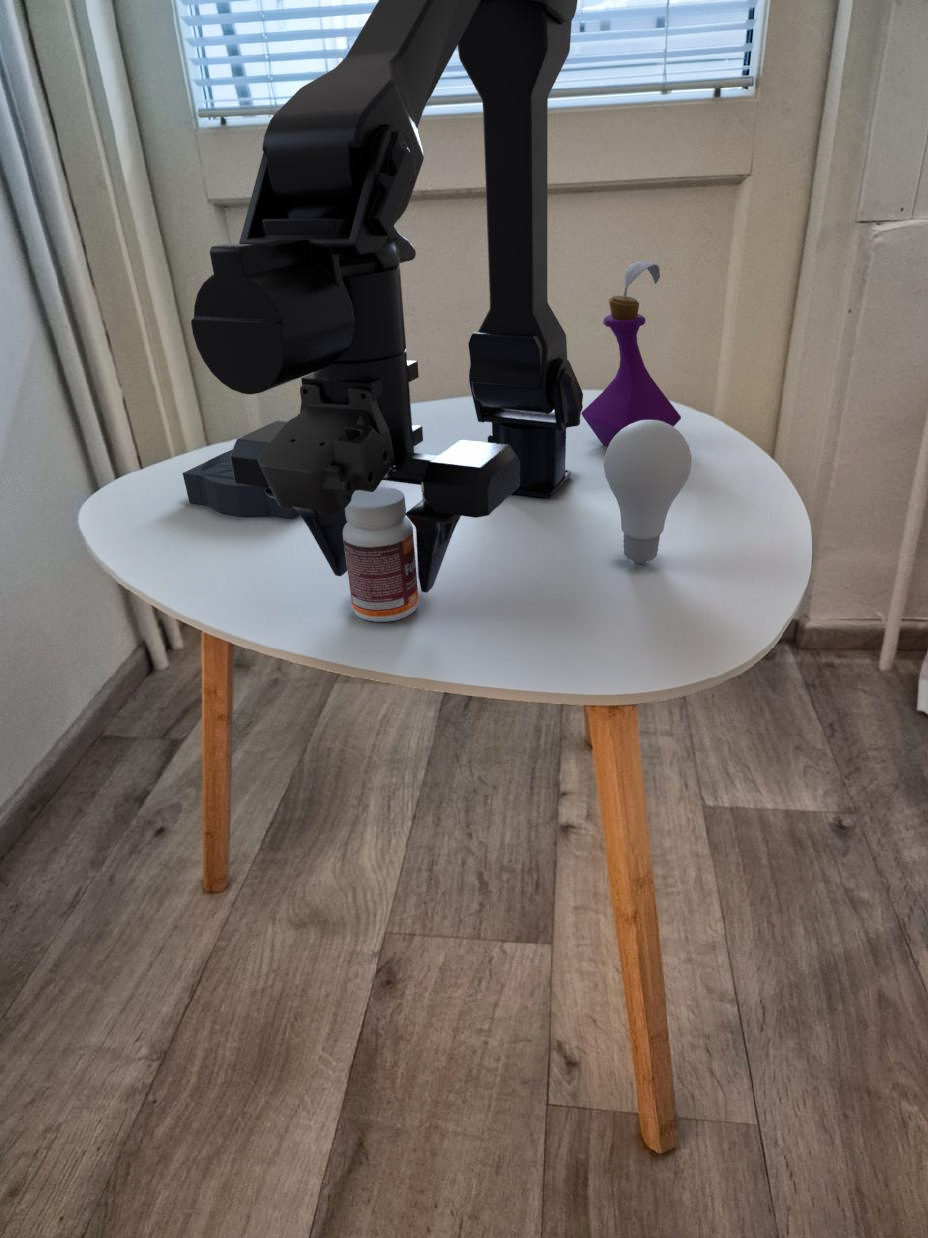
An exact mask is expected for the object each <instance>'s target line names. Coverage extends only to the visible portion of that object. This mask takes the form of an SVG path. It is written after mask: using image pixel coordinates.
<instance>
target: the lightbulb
mask: <svg viewBox="0 0 928 1238" xmlns="http://www.w3.org/2000/svg"><path fill="white" fill-rule="evenodd" d="M691 470H692V453H691V449H690V445H689V444H688V442H687V440H686V438H685V437H684V435H683V434H682V433H681V432H680V430H678V429H677V428H675V426H674V427H673V426H671V425H669V424H667V423H665V422H662V421H658V420H641V421H637V422H634V423H632V424H630V425H628V426H626V427H624V428H623V429H621V430H620V431H619V432H618V433H617V434H616V435H615V436H614V438H613V439H612V440H611V442H610V444H609V446H607V448H606V451H605V454H604V458H603V471H604V475H605V479H606V482H607V484H608V486H609V488H610V490H611V492H612V494H613V496H614V497H615V499H616V502H617V505H618V508H619V514H620V528H621V531H622V533H623V555H624V556H625V558H627V559H628V560H630V561H632V562H633V563H634V564H635V565H636V564H637V565H644V564H646V563H648V562H651V561H652V560H654V559H655V558H656V557H657V556H658V552H659V546H660V538H661V534H663V532H664V530H665V524H666V520H667V516H668V513H669V510H670V508H671V506H672V504H673V502H674V501H675V500H676V499H677V497H678V495H679V494H680V492H681V491H682V490H683V488H684V486H685V485H686V483H687V482H688V480H689V476H690V474H691Z"/></svg>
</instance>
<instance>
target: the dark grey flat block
mask: <svg viewBox="0 0 928 1238" xmlns="http://www.w3.org/2000/svg"><path fill="white" fill-rule="evenodd" d="M232 450H233V448H231V449H230V450H228V451H225V452H223V453H220V454H219V455H216V456H215V457H212V458H210V459H208V460H207V461H204V462H203V463H201V464H198V465H196V466H194V467H192V468H190V469H188V470H186V471H184V472H183V473H182V477H183V481H184V485H185V490H186V495H187V498H188V503H190V504H197V505H202V506H207V507H209V508H211V509H212V510H214V511H216V512H218V513H220V514H223V515H229V516H235V517H243V518H245V517H270V516H271V517H277V518H284V519H290V520H293V519H295V518H296V517H299V516H300V514H299V513H298V512H297V510H295V509H294V508H293V507H292V508H291V509H288V508H283V507H280V506H279V505H278V503H277V501H276V499H275V498H270V497H269V496H268V495H267V494H266V493H265V489H266V487H259V486H252V485H245V484H238V483H236V482H235V478H234V473H233V468H232V463H231V458H230V456H231V453H232ZM269 487H270V486H269ZM267 488H268V487H267Z"/></svg>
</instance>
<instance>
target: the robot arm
mask: <svg viewBox="0 0 928 1238" xmlns="http://www.w3.org/2000/svg"><path fill="white" fill-rule="evenodd" d="M578 1H579V0H378V1H377V3H376V4H375V6H374V8H373V9H372V11H371V13H370V15H369V16H368V18H367V20H366V21H365V23H364V24H363V26H362V28H361V30H360V32H359V33H358V35H357V36H356V39H355V40H354V42H353V43H352V46H351V47H350V49H349V50H348V52H347V54H346V56H345V57H344V58H343V59H342V60H341V61H340V62H339V63H338V64H337V66H336V67H334V68H333V69H331V70H329V71H327V72H326V73H324V74H322V75H321V76H319V77H317V78H316V79H313V80H312V81H310V82H309V83H307V84H305V85H303V86H302V87H300V88H299V89H298V90H297V91H296V92H294V94H293V95H292V96H291V97H290V98H289V99H288V100H287V101H286V102H285V103H284V104H283V105H282V106H281V108H280V109H279V110H277V111H276V112H275V114H274V115H273V116H272V117H271V119H270V120H269V123H268V125H267V127H266V130H265V133H264V135H263V141H262V147H261V150H262V152H263V153H262V155H261V160H260V164H259V167H258V171H257V175H256V178H255V182H254V186H253V189H252V193H251V197H250V201H249V205H248V208H247V212H246V216H245V219H244V222H243V227H242V230H241V234H240V238H239V242H238V243H225V244H217V245H212V246H210V249H209V256H210V263H211V268H212V272H213V274H212V275H210V276H209V277H208V278H207V279H206V280H205V281H204V282H203V283H202V284H201V286H200V288H199V290H198V292H197V294H196V298H195V301H194V306H193V318H192V319H191V322H190V325H191V330H192V336H193V339H194V343H195V345H196V348H197V351H198V353H199V355H200V356H201V358H202V361H203V363H204V364H205V365H206V367H207V368H208V369H209V371H210V372H211V374H212V375H213V376H214V377H215V378H216V379H217V380H218V381H219V382H220V383H221V384H223V385H224V386H226V387H227V388H229V389H231V390H232V391H235V392H237V393H240V394H242V395H243V394H244V395H256V394H261V393H264V392H267V391H269V390H272V389H274V388H277V387H279V386H282V385H284V384H287V383H289V382H292V381H295V380H297V379H300V382H301V386H300V388H299V395H300V402H301V403H300V410H299V413H298V414H297V415H296V416H295V417H292V418H291V419H289V420H288V421H285V420H275V421H272V422H270V423H268V424H266V425H264V426H262V427H260V428H258V429H256V430H254V431H251V432H249V433H247V434H245V435H243V436H241V437H238V438H236V440H235V442H234V444H233V448H232V449H233V450H232V449H231V450H232V453H231V456H230V458H231V463H232V468H233V473H234V478H235V482H236V483H238V484H245V485H252V486H259V487H266V489H265V493H266V494H267V495H268V496H269V497H270V498H275V499H276V501H277V503H278V505H279V506H280V507H283V508H288V509H291V508H292V507H293V508H294V509H295V510H297V512H298V513H299V516H300V517H301V519H302V520H303V522H304V524H305V525H306V526H307V528H308V530H309V531H310V533H311V535H312V536H313V539H314V540H315V542H316V544H317V546H318V547H319V549H320V551H321V553H322V555H323V557H324V559H325V560H326V561H327V564H328V565H329V567H330V569H331V571H332V572H333V574H334V575H335V576H336V577H343V575H345V574H346V573H348V570H347V564H346V555H345V548H344V541H343V528H344V526H345V524H346V523H347V520H346V516H345V508H346V507H347V506H348V504H349V503H350V502H351V499H352V495H353V493H354V492H355V491H356V490H360V491H367V492H374V491H375V490H376V488H377V487H379V485H380V484H381V483H382V481H386V482H393V483H394V482H395V483H403V484H409V485H416V486H417V485H418V486H420V488H421V496H422V497H421V500H420V501H419V502H418V503H416V504H415V505H413V506H412V507H411V508H410V509H409V510H407V511H406V516H405V517H406V518H408V519H409V521H410V522H411V524H412V526H414V528H415V537H416V538H415V540H416V559H417V561H416V562H417V578H418V581H419V588H420V591H421V592H422V593H425V594H428V593H429V592H430V591H431V590H432V589H433V587H434V585H435V583H436V580H437V577H438V575H439V572H440V569H441V566H442V563H443V561H444V559H445V555H446V554H447V553H446V552H447V550H448V547H449V545H450V542H451V539H452V537H453V534H454V531H455V529H456V527H457V524H458V523H459V521H460V519H461V517H468V518H473V519H474V518H475V519H476V518H482V517H488V516H490V515H491V514H492V513H493V512H494V511H495V510H496V509H497V508H498V507H499V506H500V505H501V504H503V503H504V502H505V500H506V499H508V498H509V497H510V496H511V495H512V494H515V495H522V496H532V497H539V498H551V497H553V495H555V494H556V492H557V491H558V490H559V489H560V488H561V487H562V486H563V485H564V484H565V483H566V482H567V480H568V479H570V477H572V470H570V469H566V458H567V457H566V455H567V454H566V453H567V452H566V451H567V429H568V428H573V427H578V426H579V425H580V424H581V416H582V414H581V413H582V411H583V399H584V392H583V390H582V388H581V386H580V383H579V380H578V378H577V376H576V374H575V371H574V369H573V367H572V365H571V362H570V360H569V359H568V345H567V344H568V343H567V334H566V332H565V330H564V328H563V327H562V325H561V323H560V322H559V320H558V317H557V316H556V315H555V313H554V311H553V309H552V308H551V306H550V304H549V300H548V299H549V298H548V126H549V125H548V123H549V122H548V121H549V120H548V115H549V114H548V112H549V111H548V108H549V107H548V106H549V103H548V102H549V95H550V93H551V91H552V90H553V87H554V85H555V83H556V81H557V78H558V77H559V75H560V73H561V71H562V69H563V67H564V65H565V63H566V60H567V58H568V57H569V54H570V50H571V37H572V25H573V24H572V22H573V19H574V18H575V15H576V12H577V8H578ZM456 50H457V53H458V59H459V61H460V63H461V66H462V67H463V68H464V70H465V72H466V74H467V76H468V77H469V79H470V81H471V83H472V85H473V87H474V89H475V90H476V92H477V94H478V96H479V97H480V99H481V104H482V119H483V141H484V142H483V147H484V171H485V172H484V176H485V201H486V203H485V204H486V231H487V233H486V235H487V256H488V257H487V261H488V263H487V264H488V282H489V283H488V286H489V287H488V288H489V290H488V291H489V310H488V311H487V313H486V316H485V317H484V318H483V321H482V323H481V325H480V327H479V329H478V331H477V332H472V334H471V335H470V338H469V341H468V344H467V345H468V346H467V347H468V353H469V362H470V363H469V364H470V365H469V370H468V383H469V387H470V393H471V397H472V401H473V405H474V410H475V414H476V419H477V422H478V423H482V424H483V423H491V433H490V434H489V435H488V436H487V441H479V440H468V439H459V440H458V441H456V442H455V443H453V444H452V445H450V446H449V447H448V448H446V449H445V450H443V451H442V452H440V453H439V454H438V455H437V454H429V453H420V452H415V447H417V446H418V445H419V444H421V443H422V442H424V433H423V432H424V431H423V425H418V424H413V419H412V405H411V404H412V403H411V391H410V383H411V382H413V381H415V380H416V379H417V380H418V378H420V375H419V362H418V360H408V354H407V353H408V352H407V351H408V350H407V339H406V327H405V314H404V301H403V288H402V287H403V286H402V275H401V274H402V273H401V264H402V263H406V262H411V261H414V259H416V255H417V253H416V252H417V251H416V248H415V247H414V246H413V244H412V243H411V242H410V240H409V239H408V238H406V237H404V236H403V235H402V234H400V232H399V231H398V230H397V228H396V227H395V225H396V223H398V222H399V220H400V219H401V217H402V216H403V215H404V214H405V212H406V210H407V208H408V206H409V204H410V200H411V198H412V194H413V192H414V189H415V186H416V183H417V180H418V177H419V174H420V171H421V169H422V165H423V163H424V159H425V155H424V151H423V146H422V143H421V139H420V133H419V130H418V128H419V125H420V122H421V119H422V116H423V113H424V111H425V108H426V106H427V105H428V103H429V101H430V99H431V98H432V95H433V93H434V92H435V89H436V87H437V85H438V84H439V82H440V80H441V78H442V76H443V74H444V72H445V70H446V68H447V66H448V64H449V62H450V61H451V59H452V57H453V55H454V53H455V51H456ZM269 486H270V487H269ZM267 487H268V488H267Z"/></svg>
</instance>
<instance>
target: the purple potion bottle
mask: <svg viewBox="0 0 928 1238" xmlns="http://www.w3.org/2000/svg"><path fill="white" fill-rule="evenodd" d="M646 270H647V271H648V272H649V274H650V275H651V277H652V280H653V282H654V284H655V285H656V284H657V283H658V282H659V279H660V277H661V272H660V270H661V269H660V267H659V264H655V263H653V262H649V261H635V262H633V263H631V264H630V265H629V266H627V268H626V271H625V273H624V291H623V295H612V296H611V297H610V298H609V299H608V304H609V310H610V314H608V315H606V316H605V317H604V318H603V321H602V323H603V325H604V326H605V327H607V328H610V330H611V332H612V334H614V336H615V339H616V342H617V344H618V350H619V367H618V370H617V372H616V374H615V377H614V378H613V379H612V380H611V382H610V383H609V384H608V385H607V386H606V388H605V389H603V391H602V392H601V393H600V394H599V395H598V396H597V397H596V398H595V399H594V400H593V401H592V402H591V403H589V404H588V405H587V407H585V408H584V409H582V411H581V416H582V417H583V419H584V420H585V422H586V423H587V425H588V426H589V428H590V429H591V430H592V432H593V433H594V435H595V436H596V438H597V439H598V440H599V442H600V443H601V445H604V446H606V447H608V446H609V444H610V442H611V440H612V439H613V438H614V436H615V435H616V434H617V433H618V432H619V431H620V430H621V429H623V428H624V427H626V426H628V425H630V424H632V423H634V422H637V421H641V420H658V421H662V422H665V423H667V424H669V425H671V426H673V427H674V428H675V426H676V425H677V424H678V423H679V422H680V420H681V419H682V416H681V414H680V413H679V412H678V410H677V409H676V408H675V407H674V405H673V404H672V402H671V401H670V400H669V399H668V398H667V396H666V395H665V394H664V392H663V391H662V390H661V388H660V387H659V386H658V385H657V383H656V382H655V380H654V379H653V377H652V376H651V375H650V373H649V371H648V369H647V367H646V365H645V363H644V360H643V357H642V355H641V351H640V347H639V343H638V332H639V330H640V327H641V326H644V325H645V324H646V317H645V316H644V315H642V314H639V309H640V302H639V301H638V300H637V299H636V298H634V297H632V296H627V295H628V294H627V293H628V288H629V286H630V285H632V284H633V282H634V281H635V280H636V279H637V278H638V277H640V276H641V274H642V273H643V272H644V271H646Z"/></svg>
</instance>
